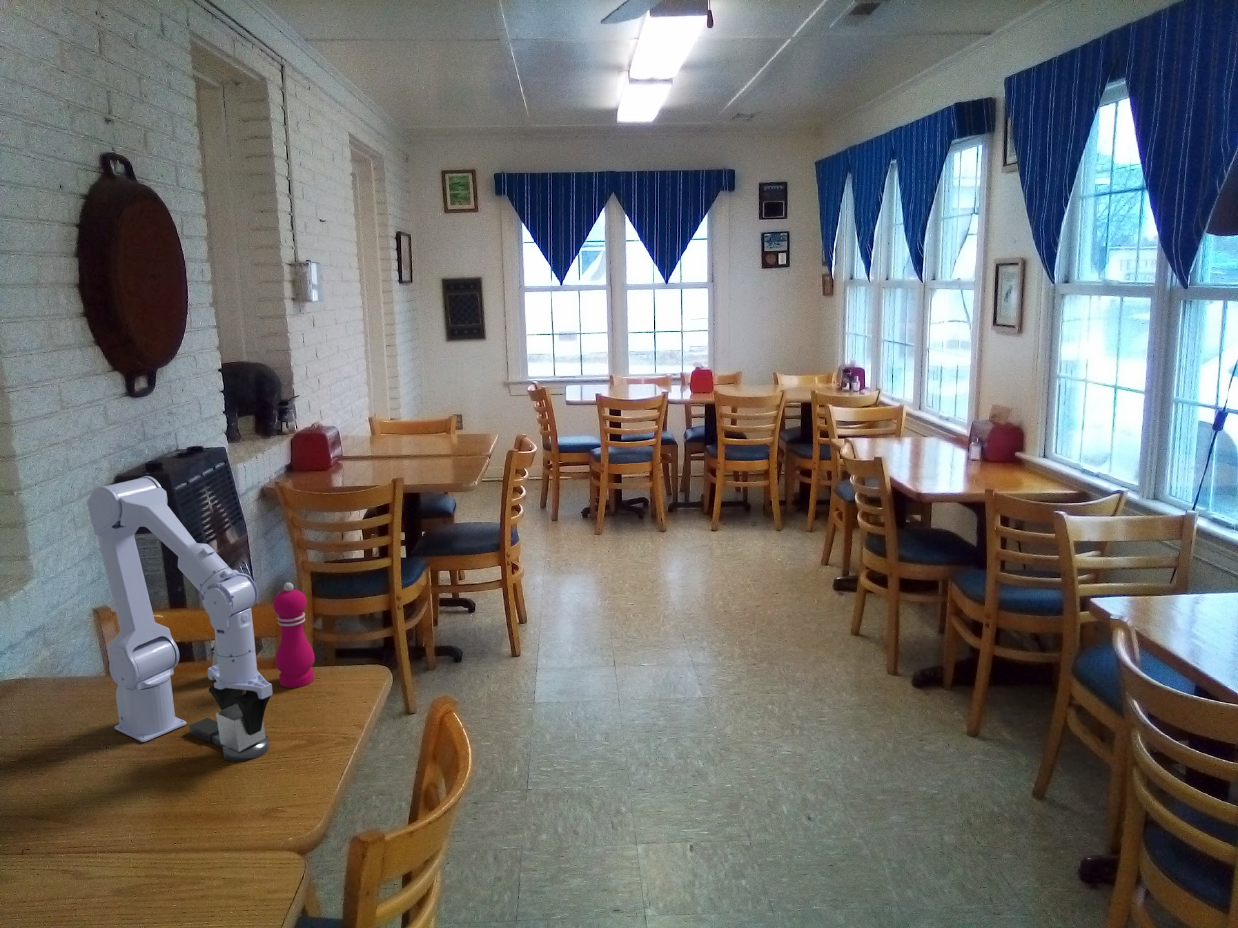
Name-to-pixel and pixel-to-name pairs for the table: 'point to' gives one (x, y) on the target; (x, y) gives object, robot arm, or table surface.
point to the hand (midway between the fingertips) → (244, 728)
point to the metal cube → (236, 729)
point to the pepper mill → (293, 639)
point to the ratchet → (210, 733)
